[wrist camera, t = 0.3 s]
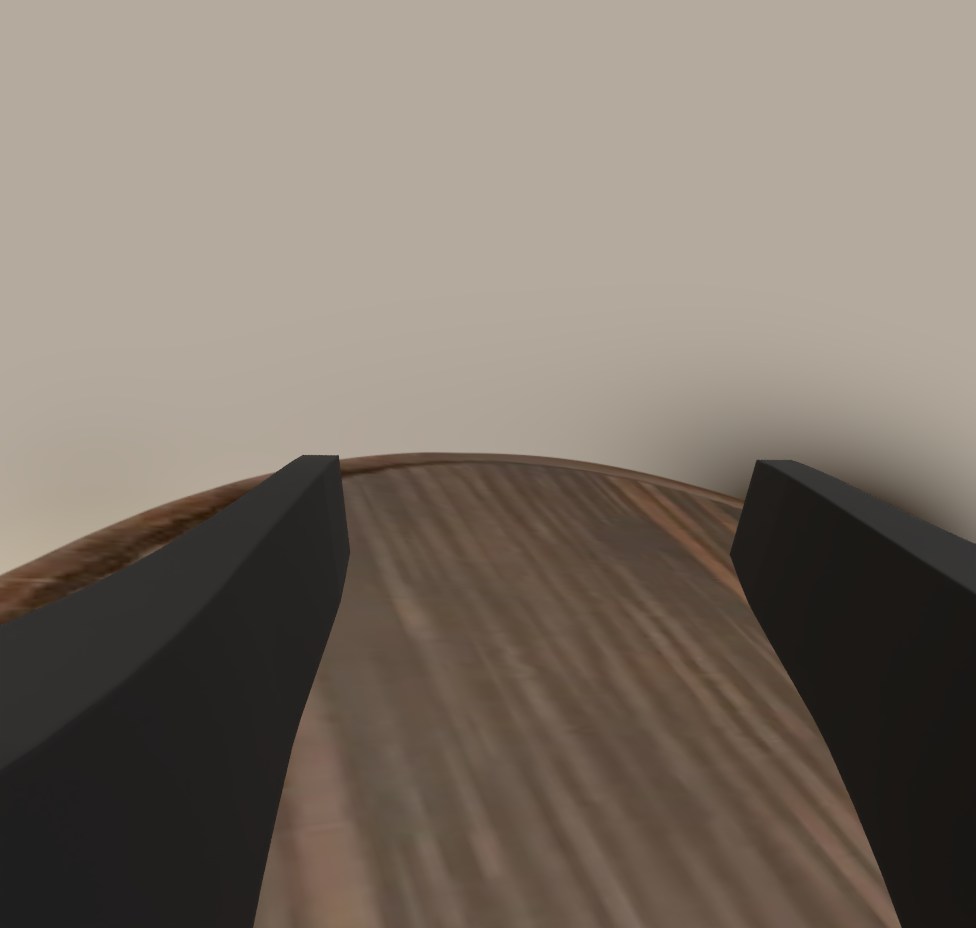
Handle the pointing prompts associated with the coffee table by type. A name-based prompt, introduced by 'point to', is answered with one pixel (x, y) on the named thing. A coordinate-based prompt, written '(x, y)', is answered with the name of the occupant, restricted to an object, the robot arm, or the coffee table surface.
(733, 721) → the coffee table surface
